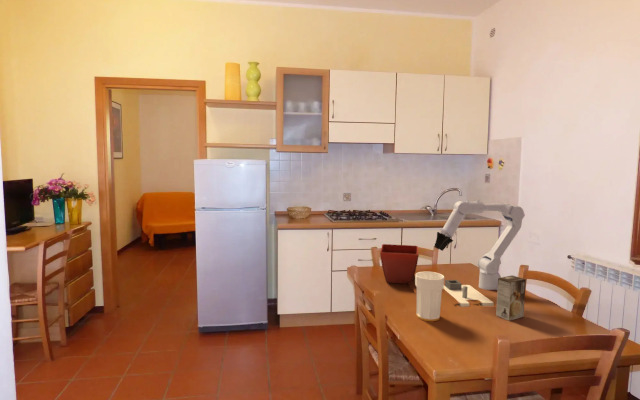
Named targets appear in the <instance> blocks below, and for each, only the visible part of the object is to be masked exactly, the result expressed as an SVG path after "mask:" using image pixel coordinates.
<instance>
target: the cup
mask: <svg viewBox="0 0 640 400" xmlns="http://www.w3.org/2000/svg"><path fill="white" fill-rule="evenodd" d="M414 278H415V279H414V285H415V287H416V310H415V311H416V312H415V313H416V317H417V319H420V320H422V321H424V322H437V321H440V318H441V317H440V316H441V305H442V294H443V290H444V289H443V287H444V285H445V276H444V275H443V274H441V273H439V272H435V271H429V270H428V271H427V270H426V271H418V272H415V275H414Z"/></svg>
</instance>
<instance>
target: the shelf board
mask: <svg viewBox="0 0 640 400" xmlns="http://www.w3.org/2000/svg"><path fill="white" fill-rule="evenodd" d="M442 290H445V291H446V292H447V293H448V294H449V296H451V297H452V298H454V299H455V300H456V301H457V302H458V303H457V305H458V306H459V307H460V308H462V307H463V308H465V307H468V308H469V307H470V302H469V301H479V303H478V304H479V305H480V306H481V307H494V306H495V305H494V301H492V300H491V299H489V298H488V297H486V296H485V295H484V294H482V293H481V292H480V291H478V290H477V289H475V288H474V287H473V286H472V285H470V284H462V286H461V290H449V289H448V288H447V287H446V286H445V284H444V287H443V289H442Z"/></svg>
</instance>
